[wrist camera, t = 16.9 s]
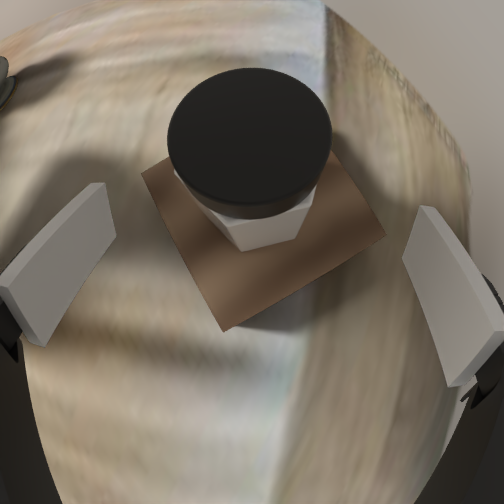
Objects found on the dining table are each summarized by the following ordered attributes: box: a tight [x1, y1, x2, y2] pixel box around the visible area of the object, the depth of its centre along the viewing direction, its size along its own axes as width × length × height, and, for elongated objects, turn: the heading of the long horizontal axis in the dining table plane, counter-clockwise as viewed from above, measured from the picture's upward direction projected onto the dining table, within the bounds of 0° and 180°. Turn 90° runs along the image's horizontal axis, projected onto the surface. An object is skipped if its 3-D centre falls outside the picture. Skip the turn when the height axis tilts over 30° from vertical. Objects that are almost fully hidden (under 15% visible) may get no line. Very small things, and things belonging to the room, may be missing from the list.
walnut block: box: [141, 150, 387, 332], centre depth 29 cm, size 16×16×6 cm
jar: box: [167, 68, 332, 252], centre depth 20 cm, size 9×8×12 cm
